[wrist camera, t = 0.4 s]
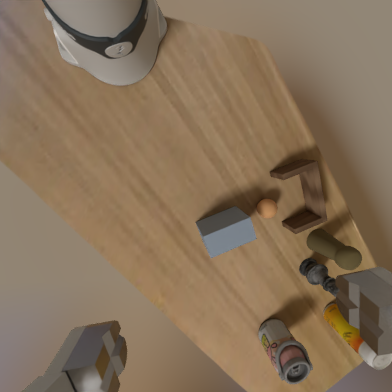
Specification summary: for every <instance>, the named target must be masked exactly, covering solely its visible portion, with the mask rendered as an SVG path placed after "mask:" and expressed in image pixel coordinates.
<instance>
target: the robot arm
mask: <svg viewBox="0 0 392 392" xmlns="http://www.w3.org/2000/svg"><path fill="white" fill-rule="evenodd" d="M42 1H43V3H44V5H45V6H46V8H44V12H45V14H46V17H47V18H48V20H49V21H51V22H52V25H53V29H54V34H55V36H56V40H57V43H58V47H59V51H60V54H61V56H62V57H63V59H64V60H65V61H66V62H68V63H70V64H72V65H75V66H78V67H82V68H84V69H85V70H87V71H88V72H89V73H91V74H92V75H93V76H95V77H96V78H98V79H99V80H101V81H103V82H106V83H109V84H113V85H129V84H133V83H135V82H137V81H139V80H141V79H142V78H144V77H145V76H146V75H147V74H148V73H149V71H150V70H151V68H152V67H153V65H154V62H155V60H156V56H157V51H158V46H159V43H160V41H161V40H162V39H163V37H164V35H165V34H166V31H167V23H166V20H165V18H164V16H163V14H162V12H161V10H160V8H159V6H158V4H157V1H156V0H42ZM335 285H336V286H337V287H338V288H339V289H340V290H339V292H338V293H337V295H336V304H337V306H338V309H339V312H340V313H341V315H342V316H343V318H344V319H345V320H346V321H347V322H348V324H349V325H351V326H353V327H355V328H357V329H359V333H360V337H361V338H362V339H363V340H364V341H365V342H366V344H367V345H368V346H369V347H370V348H371V349H372V350H373V351H374V352H375V353H376V355H377V356H380V355H386V354H392V273H391V272H389V271H388V270H386V269H384V268H382V267H375V268H371V269H366V270H364V271H358V272H353V273H348V274H344V275H339V276H337V277H336V279H335ZM120 329H121V328H120V325H119V323H118V321H115V320H114V321H108V322H103V323H97V324H91V325H87V326H82V327H76V328H74V329H73V330H71V332H70V333H69V335H68V337H67V338H66V340H65V342H64V343H63V345H62V346H61V348H60V350H59V351H58V353H57V354H56V356H55V358H54V359H53V361H52V362H51V364H50V366H49V367H48V369H47V371H46V372H45V374H44V375H43V376H40V377H38V378H37V379H35V380H34V381H33V382H32V383H31V384H30V385H29V386H28V387H26V388H25V389H24V390H23V391H22V392H118V390H119V386H120V383H119V380H118V376H119V375H120V374H121V372H122V371H123V370H124V368H125V364H126V359H127V346H126V341H125V338H124V337H122V336H121V335H119V332H120Z"/></svg>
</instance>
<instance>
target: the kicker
mask: <svg viewBox="0 0 392 392" xmlns="http://www.w3.org/2000/svg"><path fill="white" fill-rule="evenodd" d="M196 225H197V227H198V230H199V233H200V235H201V238H202V240H203V243H204V245H205V247H206V249H207V251H208V253H209V255H210V257H211V258H213V257H215V256H217V255H220V254H222V253H224V252H227V251H229V250H232V249H234V248H236V247H239V246H241V245H243V244H246V243H248V242H250V241H253V240H255V239H256V235H255V232H254V228H253V225H252V221H251V218H250V217H249V216H248V215H247V214H245V213H244V212H243V211H241V210H240V209H239V208H238V207H236V206H234V207H232V208H229V209H227V210H224V211H222V212H219V213H217V214H214V215H212V216H209V217H207V218H205V219H202V220H200V221H197V222H196Z"/></svg>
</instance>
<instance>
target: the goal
mask: <svg viewBox="0 0 392 392" xmlns="http://www.w3.org/2000/svg"><path fill="white" fill-rule="evenodd" d="M298 174H300V179H301V184H302V189H303V194H304V199H305V204H306V209H307V211H306V212H304V213H301V214H299V215H297V216H294V217H292V218H289V219H287V220H285V221H282V224H283V226H284V227H286V228H287V229H289V230H290V231H292V232H293V233H295V234H297V233H299V232H302V231H304V230H306V229H309V228H311V227H313V226H316V225H318V224H320V223H323V222H325V221H327V215H326V209H325V203H324V197H323V191H322V185H321V180H320V174H319V168H318V162H317V161H314V160H304V159H301V160H298V161H296V162H293V163H291V164H288V165H286V166H283V167H281V168H278V169H275V170H273V171H270V175H271V177H274V178H278V179H282V180H285V179H288V178H290V177H293V176H295V175H298Z"/></svg>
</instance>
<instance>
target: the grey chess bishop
mask: <svg viewBox="0 0 392 392" xmlns="http://www.w3.org/2000/svg"><path fill="white" fill-rule="evenodd" d="M299 270H300V273H301V274H302V275H304V276H306V278H307V279H308V282H309V283H310V284H312V285H318V284H320V285H321V286H323V289H324V290H326V291H329V292H330V293H331V294H333V295H334V296H335V297H336V295H337V293H338V292H339V290H340V289H339V288H338V287H337V286H336V285H335V279H334V278H331V277H330V276H328V269H327V267H326V266H325V265H322V264H318V263H317V262H316V260H314V259H312V258H308V259H306V260H304V261H303V262H302V263H301V265H300V268H299Z"/></svg>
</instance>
